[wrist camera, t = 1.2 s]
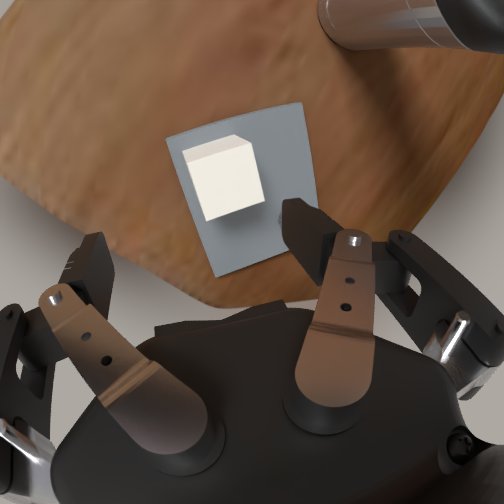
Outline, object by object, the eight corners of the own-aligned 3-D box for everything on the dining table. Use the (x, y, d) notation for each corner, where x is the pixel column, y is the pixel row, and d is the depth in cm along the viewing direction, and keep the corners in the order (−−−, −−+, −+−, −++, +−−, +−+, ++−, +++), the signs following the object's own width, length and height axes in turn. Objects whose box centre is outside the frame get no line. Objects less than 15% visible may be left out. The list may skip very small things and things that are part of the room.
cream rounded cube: (234, 134, 27) (251, 142, 22) (246, 182, 30) (264, 200, 26) (182, 151, 27) (186, 163, 22) (197, 199, 30) (206, 221, 25)
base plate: (295, 102, 29) (301, 102, 27) (316, 232, 39) (321, 237, 38) (165, 138, 27) (165, 140, 26) (213, 271, 37) (215, 277, 36)
